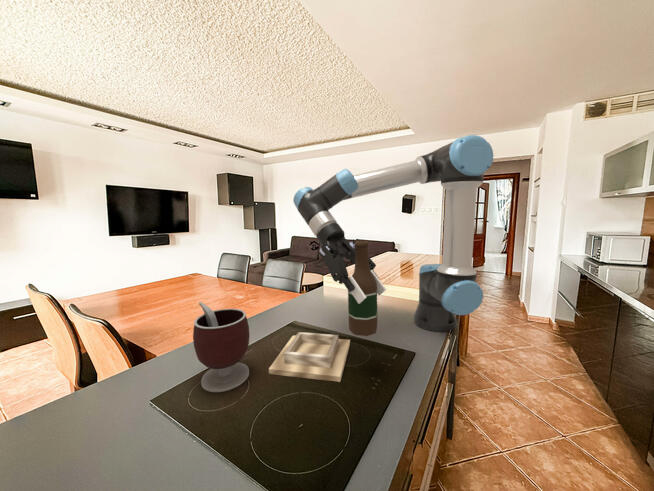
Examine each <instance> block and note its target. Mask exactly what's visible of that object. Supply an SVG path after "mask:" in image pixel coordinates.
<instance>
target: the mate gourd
mask: <svg viewBox="0 0 654 491" xmlns="http://www.w3.org/2000/svg"><path fill="white" fill-rule="evenodd" d="M198 305H199V306H200V307H201V309H202V311H203V314H202V315H200V316H198V317H196V319H194V321H193V324H194V325H193V331H192V332H193V333H192V339H193V342H192V343H193V348H194V351H195V355H196V357H197V360H198V361H199V362H200V363H201V364H203V365H204V366H205V367H206V368H208V369H209V370H207V371H206V372H205V373H204V374H203V375H202V377H201V380H200V384H201V388H202V389H204V390H205V391H208V392H211V393H221V392H227V391H230V390H232V389H235V388H237V387H239V386H241V385H242V384H243V383H244V382H245V381H246V380H247V379H248V377H249V375H250V368H249V366H248V365H247V364H245V363H244V362H243V363H242V362H240V361H242V359H243V357H244V356H245V354H246V353H247V352H248V349H249V345H250V325H249V321H248V317H247V314H246V311H244V310H243V309H239V308H221V309H216V310H212V308H210V307H209V306H208V305H206V304H205V303H204V302H200V301H199V302H198Z"/></svg>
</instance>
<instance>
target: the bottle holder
mask: <svg viewBox="0 0 654 491" xmlns="http://www.w3.org/2000/svg"><path fill="white" fill-rule="evenodd" d="M350 346H351V339H346V338H345V339H344V338H339V334H329V333H328V334H327V333H317V332H316V333H315V332H305V331H304V332H302V331H299V332H297V334H296V335H292V336H291V337H290V339H289V340H288V342H287V343H286V344H285V345H284V347H283V348H282V350H281V351H280V353H279V354H278V355H277V357H276V358H275V359H274V361H273V362H272V364H271V365H270V366H269V367H268V374H269V375H276V376H284V377H293V378H302V379H311V380H319V381H329V382H338V383H341V381H342V378H343V377H342V376H343V373H344V369H345V366H346V362H347V357H348V354H349V350H350Z"/></svg>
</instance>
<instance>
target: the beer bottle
mask: <svg viewBox="0 0 654 491" xmlns="http://www.w3.org/2000/svg"><path fill="white" fill-rule="evenodd" d="M355 241H356V242H355V245H354V246H355V247H356V250H355V264H354V269H353V270H354V271H353V273H352V275H351V276H352V277H353V278H354V280H355V281H356V283H357V284H358V286H359V287H360V289H361V290H362V291H363V293H364V294H365V296H366V298H365V299H364V300H363V301H362V302H361V303H360V304H358V302H357V301H356V299H355V298H354V296H353V295H352V293H351V292H349V291H348V290H347V300H348V301H347V302H348V303H347V304H348V305H347V307H348V329H349V332H351V333H352V334H354V335H355V336H362V337H369V336H372V335H374V334H376V333H377V330H378V293H377V283H376V280H375V277H374V276H373V274H372V273H371V272H370V267H369V258H370V256H369V245H370V244H369V241H367V240H355Z"/></svg>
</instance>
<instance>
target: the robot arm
mask: <svg viewBox="0 0 654 491" xmlns="http://www.w3.org/2000/svg"><path fill="white" fill-rule="evenodd" d="M493 161H494V149H493V148H492V145H491V144H490V142H488V141H487V140H486V139H485V138H484V137H482V136H480V135H476V134H469V135H465V136H462V137H459V138H457V139H454V141H452V142H449V143H447V144H445V145H443V146H441V147H439V148H438V149H435V150H433V151H432V152H429V153H427V154H423V155H419V156H417V157H416V159H414V160H411V161H408V162H404V163H399V164H395V165H391V166H386V167H383V168H379V169H376V170H371V171H366V172H362V173H358V174H354V175H353V173H352V172H351V171H350V170H349V169H348V168H343V169H342V170H340V171H338V172H336V174H334V175H333V176H331V177H330V178H329V179H327V180H325V182H324V183H322V184H321V185H319V186H317V187H316V188H315V189H313V188H312V187H310V186H305V187H303V188H300V189H298V190H297V191H296V192H295V193H294V196H293V204H294V206H295V208H296V209H297V211H298V213H299V214H300V216H301V217H302V219H303V220H304V222H305V223H306V225H307V226H308V228H309V229H310V230H311V232H312V233H313V235H314V237H316V239H317V241H318V242H319V244H320V245H321V247H320V249H319V250H318V255H319V256H320V257H321V258H322V259H323V262H324V264H325V266H326V267H327V269H328V272H329V274H330V275H331V278H332V280H333V282H336V283H339V285H342V284H343V285H344V286H345V288H346V289H347V292H348V291H349V292H351V293H352V295H353V296H354V298H355V299H356V301H357V302H358V304H360V303H361V302H362V301H363V300H364V299H365V298H366V296H365V294H364V293H363V291H362V290H361V289H360V287H359V286H358V284H357V283H356V281H355V280H354V278H353V277H352V275H349V272H348V269H347V267H346V266H347V265H346V263H345V259H346V260H350V261H351V262H352V264H354V265H355V250H356V247H355V246H354V245H355V242H356V241H357V240H353V241H352V242H350V241H349V240H347V239H346V237H345V236H346V235H345V231H344V230H343V229H342V227H341V226H340V225H339V223H338V221H337V220H336V218H334V215H333V214H332V213H331V212H330V209H332V208H334V207H335V206H337V205H338V204H340V202H342V201H345V200H350V199H354V198H357V197H363V196H366V195H367V196H368V195H370V194H374V193H379V192H382V191H388V190H392V189H395V188H399V187H404V186H408V185H414V184H416V183H419V184H420V185H424V184H429V183H436V182H440V185H441V187H443V189H445V202H444V203H445V205H444V219H443V220H444V221H443V240H442V241H443V242H442V243H443V244H442V260H441V263H430V264H429V263H428V264H423V265H421V266H420V267H419V272H418V275H419V278H418V282H419V283H418V291H419V292H418V304H417V307H416V309H415V312H414V315H413V323H414V325H416V326H418V327H419V328H421V329H423V330H428V331H431V332H440V333H441V332H442V333H443V332H451V331H454V330H455V329H456V328H457V318H456V315H457V316H466V315H469V314H472V313H474V312H475V310H477V309H478V308H479V307H480V306H481V305H482V303H483V300H484V291H483V289H482V287H481V285H480V284H479V283H477V274H478V272H477V270H476V269H474V267H473V252H474V240H475V239H474V234H475V221H476V207H477V205H476V204H477V191H478V188H479V187H480V186H481V185H483V184H484V174H485V173H487V171H488V169H489V168H490V167H492V165H493ZM376 266H377V265H376V263H375V262H374V261H373V259H372V258H371V257H369V267H370V272H371V273H372V274H373V276H374V277H375V280H376V283H377V296H381V295H382V294H383V293H384V292H386V290H387V288H386V287H385V285H384V283H383V282H382V281H381V280H380V277H379V276H378V274H377V273H376V272H375V271H374V270H375V268H376Z"/></svg>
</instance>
